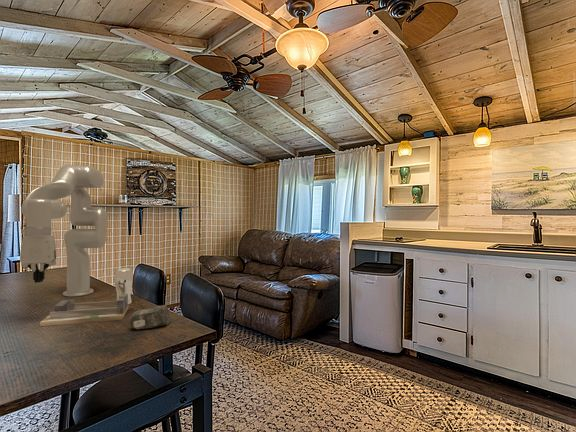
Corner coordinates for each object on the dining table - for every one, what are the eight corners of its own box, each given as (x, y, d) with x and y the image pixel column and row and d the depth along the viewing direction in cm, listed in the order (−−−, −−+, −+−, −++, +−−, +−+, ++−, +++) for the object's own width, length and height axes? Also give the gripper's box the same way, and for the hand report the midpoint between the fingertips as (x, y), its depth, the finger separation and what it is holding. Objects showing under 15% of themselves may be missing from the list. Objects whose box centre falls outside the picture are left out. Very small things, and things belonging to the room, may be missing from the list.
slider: (62, 310, 128) (62, 298, 128) (74, 309, 129) (74, 298, 129) (50, 320, 116) (50, 307, 116) (63, 319, 118) (63, 306, 117)
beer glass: (135, 303, 144) (135, 269, 144) (118, 306, 139) (118, 271, 139) (128, 300, 149) (128, 267, 149) (112, 303, 144) (112, 269, 144)
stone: (143, 344, 110) (127, 320, 109) (138, 341, 116) (123, 318, 114) (178, 319, 118) (165, 295, 117) (172, 317, 124) (159, 295, 123)
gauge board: (57, 312, 131) (57, 296, 131) (128, 307, 139) (128, 292, 138) (40, 326, 115) (40, 308, 115) (121, 319, 123) (121, 302, 123)
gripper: (9, 233, 116) (9, 285, 116) (58, 232, 120) (58, 282, 120) (19, 232, 123) (19, 281, 123) (66, 231, 127) (65, 279, 127)
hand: (38, 281), depth 121 cm, fingers closed
